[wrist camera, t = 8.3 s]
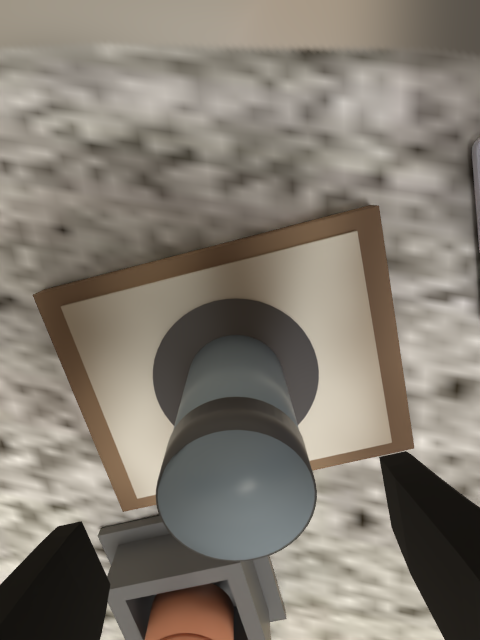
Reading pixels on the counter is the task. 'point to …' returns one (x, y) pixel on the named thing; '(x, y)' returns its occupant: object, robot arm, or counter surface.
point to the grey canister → (236, 457)
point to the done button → (192, 615)
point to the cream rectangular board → (238, 319)
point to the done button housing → (183, 579)
